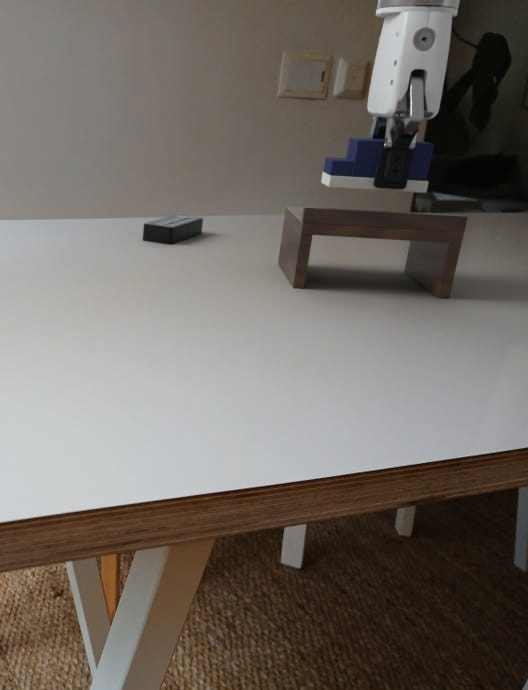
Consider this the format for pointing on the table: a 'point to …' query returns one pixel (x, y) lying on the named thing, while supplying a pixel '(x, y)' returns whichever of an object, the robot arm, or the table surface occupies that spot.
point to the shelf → (419, 228)
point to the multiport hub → (172, 229)
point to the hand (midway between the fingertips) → (382, 183)
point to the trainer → (374, 166)
